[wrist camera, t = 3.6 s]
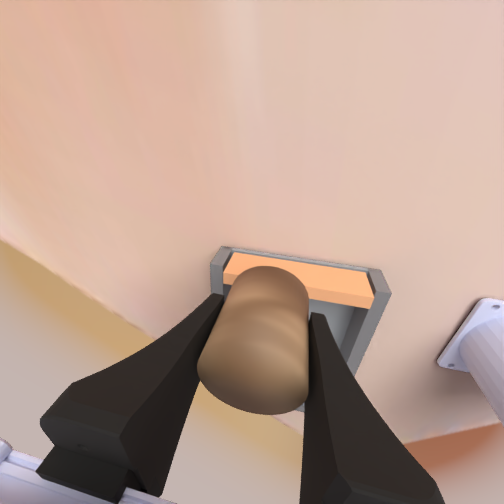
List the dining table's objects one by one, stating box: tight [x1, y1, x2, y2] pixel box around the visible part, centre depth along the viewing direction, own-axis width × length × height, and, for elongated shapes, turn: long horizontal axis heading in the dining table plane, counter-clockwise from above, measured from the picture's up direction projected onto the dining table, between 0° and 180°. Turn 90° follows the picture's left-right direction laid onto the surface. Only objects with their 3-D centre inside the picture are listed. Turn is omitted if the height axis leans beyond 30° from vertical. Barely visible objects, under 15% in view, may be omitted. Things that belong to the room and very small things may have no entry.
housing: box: [210, 246, 392, 412], centre depth 23 cm, size 13×17×3 cm
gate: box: [223, 252, 374, 309], centre depth 18 cm, size 10×1×3 cm, turn 87°
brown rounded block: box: [197, 266, 309, 415], centre depth 11 cm, size 4×4×5 cm
